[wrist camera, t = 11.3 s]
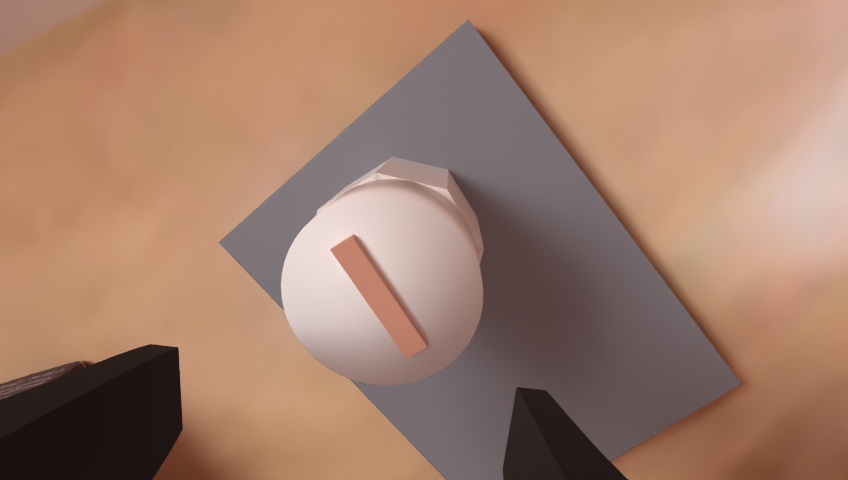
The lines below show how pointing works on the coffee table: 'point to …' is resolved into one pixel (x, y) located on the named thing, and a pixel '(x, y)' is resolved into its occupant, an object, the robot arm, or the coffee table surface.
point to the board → (509, 272)
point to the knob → (387, 276)
